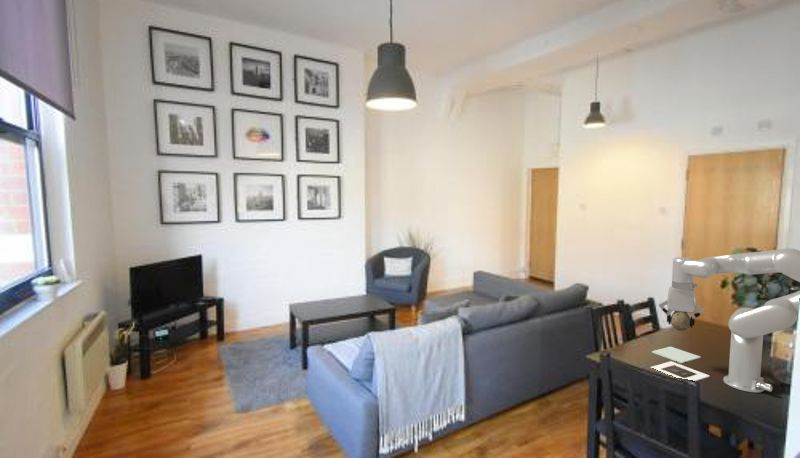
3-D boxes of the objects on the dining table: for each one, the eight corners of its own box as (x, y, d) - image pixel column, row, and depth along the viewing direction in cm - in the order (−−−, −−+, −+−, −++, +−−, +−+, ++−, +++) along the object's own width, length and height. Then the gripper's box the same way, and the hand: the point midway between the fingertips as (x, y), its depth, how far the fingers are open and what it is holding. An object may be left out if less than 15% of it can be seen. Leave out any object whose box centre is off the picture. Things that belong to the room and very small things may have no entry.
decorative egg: (673, 332, 170) (675, 310, 169) (667, 327, 177) (668, 305, 176) (693, 334, 168) (694, 311, 168) (685, 328, 175) (686, 306, 174)
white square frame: (709, 376, 166) (709, 375, 166) (689, 383, 160) (689, 382, 160) (670, 362, 180) (671, 361, 180) (650, 368, 175) (650, 366, 175)
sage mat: (700, 358, 184) (700, 356, 184) (681, 363, 179) (682, 362, 179) (670, 347, 197) (670, 346, 197) (651, 352, 192) (651, 351, 192)
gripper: (706, 286, 169) (704, 326, 171) (658, 281, 179) (656, 319, 181) (708, 290, 163) (705, 331, 165) (658, 285, 173) (656, 324, 174)
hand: (680, 324), depth 173 cm, fingers closed on decorative egg, 7 cm apart
